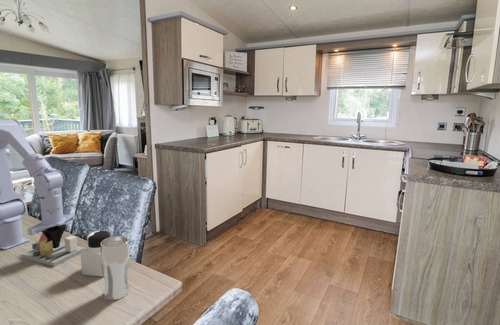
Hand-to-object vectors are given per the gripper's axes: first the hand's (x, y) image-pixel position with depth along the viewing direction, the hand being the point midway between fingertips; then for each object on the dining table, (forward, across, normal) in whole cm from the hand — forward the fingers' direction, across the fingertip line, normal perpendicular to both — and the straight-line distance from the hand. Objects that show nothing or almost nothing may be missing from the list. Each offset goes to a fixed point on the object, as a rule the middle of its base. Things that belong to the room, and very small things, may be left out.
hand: (55, 247), depth 91 cm
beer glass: (+3, -8, -34) cm, 35 cm away
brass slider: (+1, -3, 0) cm, 3 cm away
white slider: (+1, +2, -5) cm, 5 cm away
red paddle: (+1, -1, +6) cm, 6 cm away
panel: (+3, 0, 0) cm, 3 cm away
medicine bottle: (+3, -1, -20) cm, 21 cm away
